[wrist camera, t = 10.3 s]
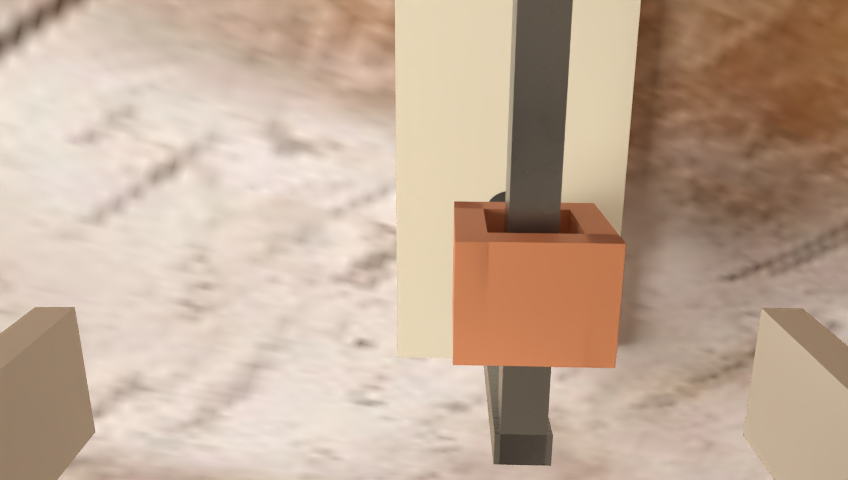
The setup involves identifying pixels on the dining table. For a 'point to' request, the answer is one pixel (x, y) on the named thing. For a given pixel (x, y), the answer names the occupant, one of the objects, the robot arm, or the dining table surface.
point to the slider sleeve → (536, 289)
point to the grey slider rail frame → (531, 208)
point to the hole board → (492, 135)
